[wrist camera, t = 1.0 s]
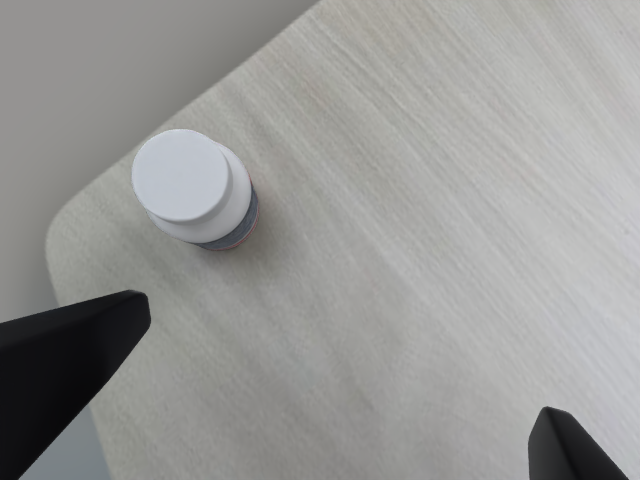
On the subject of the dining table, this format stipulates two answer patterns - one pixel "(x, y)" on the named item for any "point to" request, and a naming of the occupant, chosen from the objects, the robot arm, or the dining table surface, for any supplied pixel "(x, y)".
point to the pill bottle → (195, 189)
